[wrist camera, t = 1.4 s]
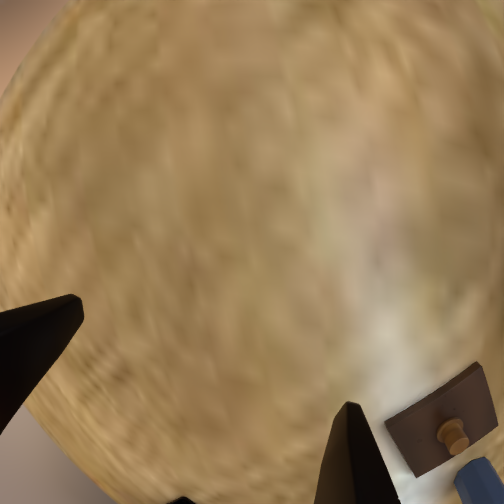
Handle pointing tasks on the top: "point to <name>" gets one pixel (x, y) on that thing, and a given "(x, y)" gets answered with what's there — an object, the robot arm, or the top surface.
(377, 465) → the robot arm
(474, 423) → the brown plate with knob
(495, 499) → the blue sleeve
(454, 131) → the top surface
